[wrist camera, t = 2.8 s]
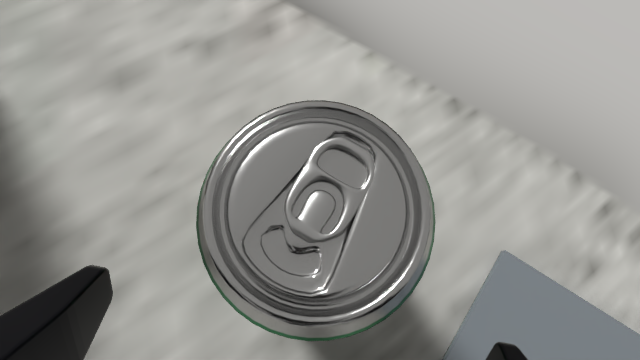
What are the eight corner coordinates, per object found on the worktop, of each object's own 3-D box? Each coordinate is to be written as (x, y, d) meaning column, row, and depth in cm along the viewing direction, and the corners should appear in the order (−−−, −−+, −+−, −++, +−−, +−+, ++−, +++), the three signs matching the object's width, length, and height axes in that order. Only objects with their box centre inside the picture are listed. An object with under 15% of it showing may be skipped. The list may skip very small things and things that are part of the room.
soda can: (237, 267, 19) (124, 255, 8) (294, 174, 20) (273, 38, 9) (333, 326, 19) (369, 409, 7) (387, 228, 20) (497, 161, 8)
